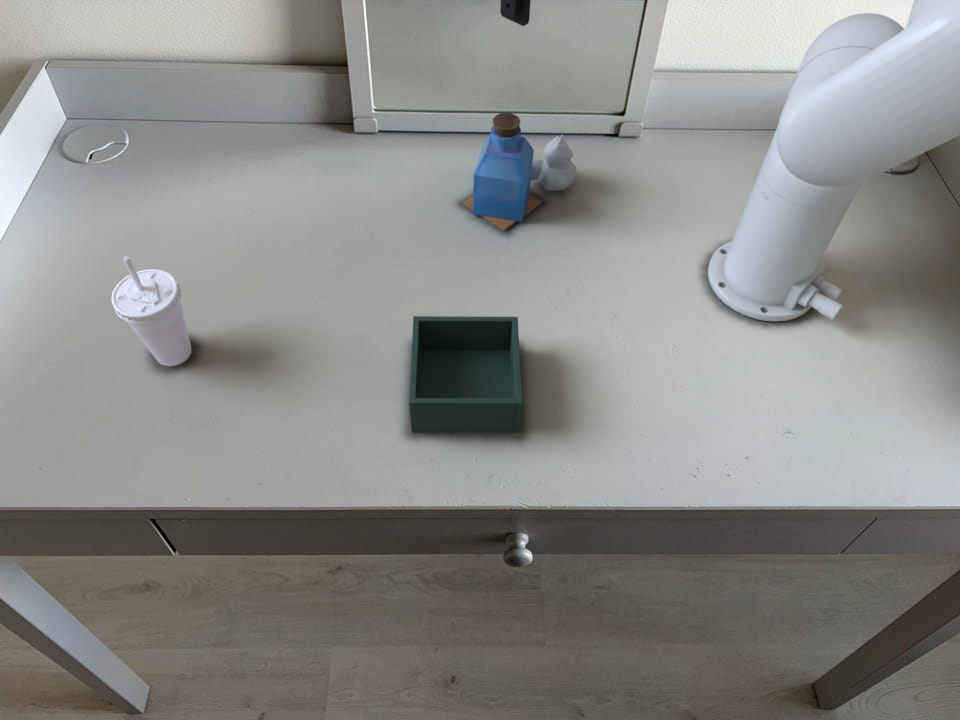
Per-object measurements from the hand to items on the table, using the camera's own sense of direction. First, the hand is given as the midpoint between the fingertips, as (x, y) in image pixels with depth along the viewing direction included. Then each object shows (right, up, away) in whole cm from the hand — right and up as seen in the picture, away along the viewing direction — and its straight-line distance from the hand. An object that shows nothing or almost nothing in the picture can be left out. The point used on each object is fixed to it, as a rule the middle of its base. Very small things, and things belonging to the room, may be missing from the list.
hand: (546, 1), depth 78 cm
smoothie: (-39, -35, +6) cm, 53 cm away
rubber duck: (+2, -13, +24) cm, 27 cm away
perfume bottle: (-4, -16, +21) cm, 26 cm away
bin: (-8, -39, +4) cm, 40 cm away
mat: (-4, -16, +21) cm, 27 cm away
